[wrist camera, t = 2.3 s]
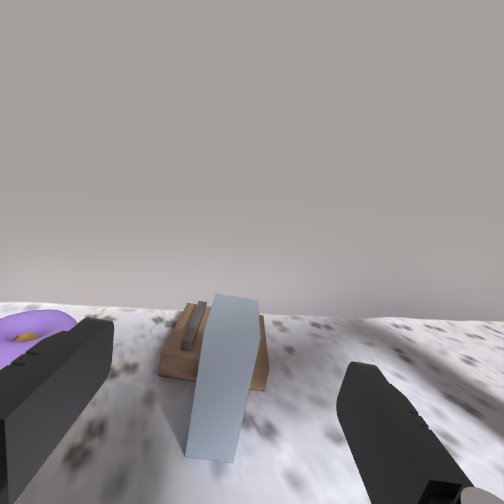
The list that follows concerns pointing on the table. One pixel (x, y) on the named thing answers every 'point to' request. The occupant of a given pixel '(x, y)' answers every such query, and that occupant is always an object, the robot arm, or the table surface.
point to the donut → (29, 331)
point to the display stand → (190, 344)
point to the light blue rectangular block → (223, 378)
